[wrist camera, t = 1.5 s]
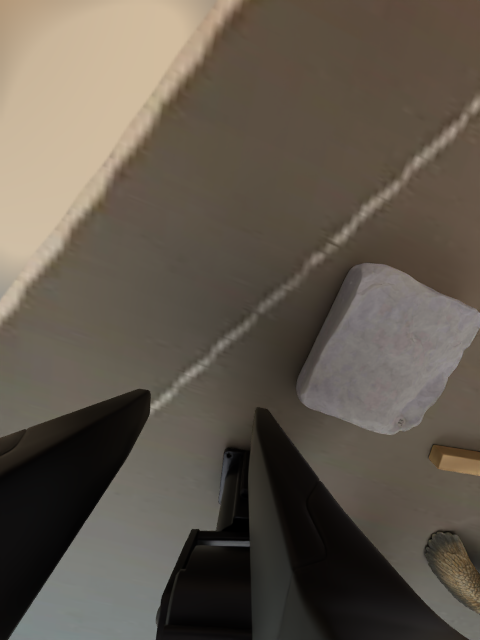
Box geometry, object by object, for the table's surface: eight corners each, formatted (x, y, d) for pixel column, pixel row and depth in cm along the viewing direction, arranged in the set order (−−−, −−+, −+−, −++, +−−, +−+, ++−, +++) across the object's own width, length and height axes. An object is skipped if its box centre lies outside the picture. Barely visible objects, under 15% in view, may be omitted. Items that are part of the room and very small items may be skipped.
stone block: (445, 295, 20) (342, 253, 18) (514, 310, 15) (386, 257, 13) (375, 409, 23) (282, 383, 21) (415, 450, 18) (300, 423, 16)
